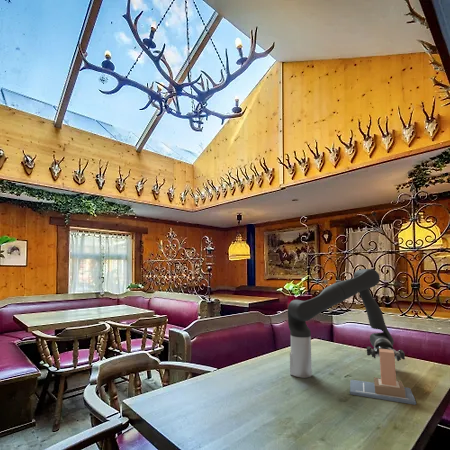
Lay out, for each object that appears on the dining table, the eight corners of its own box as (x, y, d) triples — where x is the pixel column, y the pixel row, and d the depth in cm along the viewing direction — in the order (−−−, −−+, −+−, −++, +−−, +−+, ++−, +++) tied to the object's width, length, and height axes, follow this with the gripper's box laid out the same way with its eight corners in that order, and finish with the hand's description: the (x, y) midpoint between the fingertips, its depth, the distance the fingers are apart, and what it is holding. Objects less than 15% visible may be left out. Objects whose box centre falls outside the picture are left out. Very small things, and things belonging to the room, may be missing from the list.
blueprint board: (349, 394, 118) (349, 383, 118) (350, 381, 131) (350, 372, 131) (416, 404, 109) (415, 392, 110) (410, 390, 122) (409, 380, 122)
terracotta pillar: (381, 383, 118) (379, 351, 120) (380, 379, 123) (379, 348, 124) (396, 386, 116) (394, 353, 118) (395, 381, 121) (393, 349, 122)
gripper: (365, 337, 142) (366, 345, 128) (400, 340, 137) (405, 349, 122) (366, 354, 141) (367, 364, 127) (402, 358, 136) (407, 369, 121)
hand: (386, 357), depth 124 cm, fingers open, 8 cm apart
